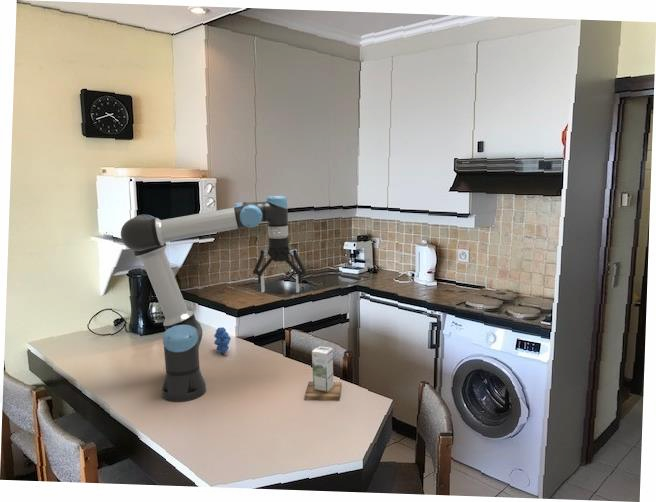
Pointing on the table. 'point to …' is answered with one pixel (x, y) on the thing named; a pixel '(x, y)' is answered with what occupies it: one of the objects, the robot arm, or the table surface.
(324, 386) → the syrup box
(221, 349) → the grapes
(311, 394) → the square wooden board
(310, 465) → the table surface
